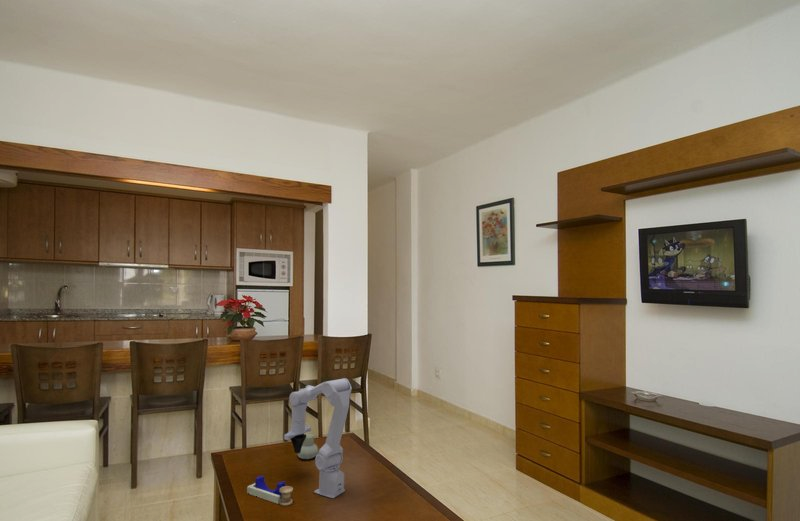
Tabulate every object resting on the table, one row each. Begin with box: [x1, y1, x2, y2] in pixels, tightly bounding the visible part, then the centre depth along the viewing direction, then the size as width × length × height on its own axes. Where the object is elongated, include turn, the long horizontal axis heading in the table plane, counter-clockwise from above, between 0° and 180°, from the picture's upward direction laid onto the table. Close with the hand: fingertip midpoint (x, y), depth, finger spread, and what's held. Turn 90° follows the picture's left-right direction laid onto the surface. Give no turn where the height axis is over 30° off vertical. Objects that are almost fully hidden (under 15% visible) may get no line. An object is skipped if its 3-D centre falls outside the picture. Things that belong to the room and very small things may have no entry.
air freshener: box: [296, 433, 319, 460], centre depth 216 cm, size 11×8×10 cm
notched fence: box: [246, 482, 281, 505], centre depth 176 cm, size 16×7×2 cm, turn 60°
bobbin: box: [278, 485, 294, 507], centre depth 171 cm, size 5×5×5 cm
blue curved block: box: [254, 475, 286, 499], centre depth 177 cm, size 12×4×6 cm, turn 65°
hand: (297, 452), depth 194 cm, fingers closed
